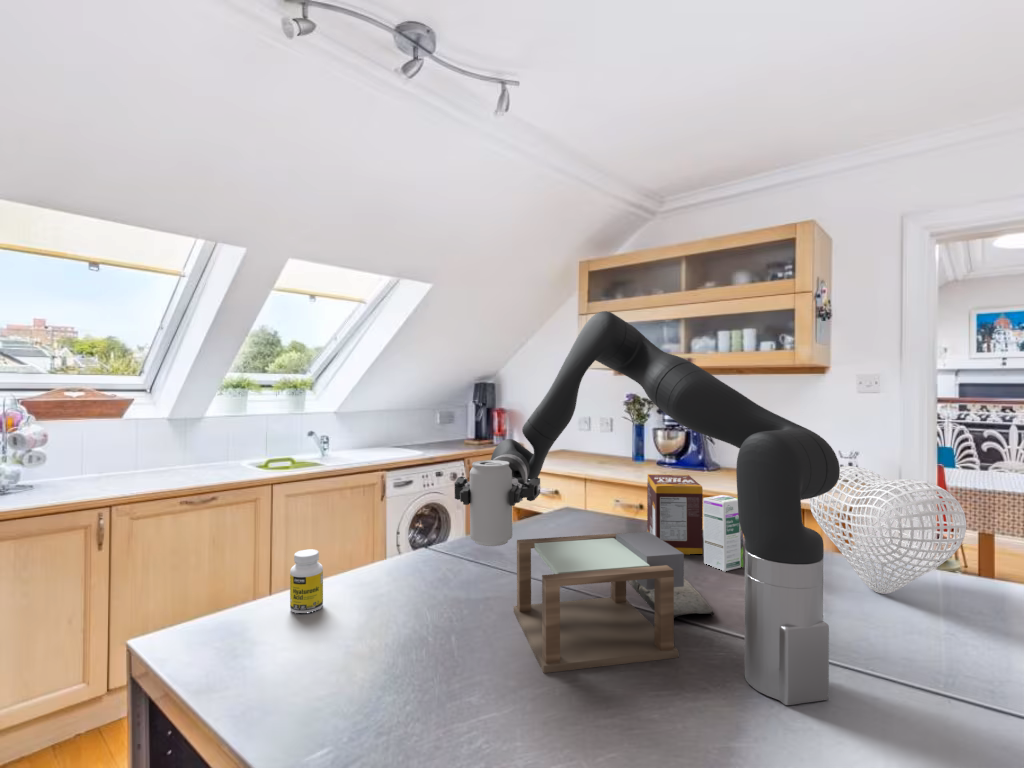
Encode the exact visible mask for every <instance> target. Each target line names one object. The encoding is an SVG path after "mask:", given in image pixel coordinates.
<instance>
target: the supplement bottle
mask: <svg viewBox="0 0 1024 768" xmlns="http://www.w3.org/2000/svg"><path fill="white" fill-rule="evenodd" d="M293 557H294V558H293V559H294V560H293V561H294V565H292V567H291V568H290V570H289V571H290V574H289V583H290V584H289V598H290V599H289V602H290V603H289V606H290V607H289V608H290V611H291V613H293V612H295V613H294V614H296V613H307V612H312V611H315V612H317V611H316V610H318V609H319V610H321V609H322V608H323V606H324V566H323V564H321V563H320V562H319V560H320V559H319V557H320V553H319V551H318V550H317V549H313V548H311V549H301V550H297V551H296V552H295V553H294V555H293ZM319 610H318V611H319ZM312 613H313V612H312ZM307 614H308V613H307Z"/></svg>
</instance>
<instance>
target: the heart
mask: <svg viewBox="0 0 1024 768" xmlns="http://www.w3.org/2000/svg"><path fill="white" fill-rule="evenodd" d="M839 467H840V474H839V477H840V476H841V479H838V481H837V483H836V485H835V486H834V487H833V488H832V489H831V490H830V491H828V492H826V493H824V494H822V495H820V496H817V497H813V498H810V499H808V501H809V502H808V503H809V509H810V511H811V514H812V516H813V518H814V520H815V521H816V523H817V525H819V527H820V528H821V530H822V531H823V532H824V534H825V535H826V536H827V538H829V540H830V541H832V543H833V544H834V545H835V547H836V548H837V549H838V550H839V552H840V553H841V554H842V555H843V557H844V558H845V560H846V561H847V562H848V563H849V564H850V567H851V568H853V570H854V571H855V573H856V574H857V575H858V577H859V578H860V579H861V581H863V583H865V585H866V586H867V587H868V588H869V589H871V590H872V591H874V593H875V592H876V593H877V594H882V595H883V594H885V595H886V594H887V595H888V594H891V593H894V592H896V591H899V590H900V589H902V588H903V587H905V586H906V585H908V584H910V583H912V582H913V581H915V580H916V579H918V578H920V577H922V576H924V575H925V574H927V573H929V572H931V571H932V570H934V569H936V568H937V567H939V566H941V565H942V564H944V563H945V562H946V561H948V560H949V559H950V558H952V556H953V555H954V554H955V553H956V552H957V551H958V550H959V548H960V546H961V545H962V543H963V541H964V539H965V537H966V533H967V531H966V530H967V519H966V514H965V511H964V509H963V507H962V505H961V503H960V502H959V501H958V499H956V497H955V496H954V495H952V493H950V492H949V491H948V490H946V489H944V488H942V487H940V486H939V485H937V484H935V483H931V482H929V481H928V482H927V481H924V480H919V479H912V478H911V479H906V478H905V479H904V478H903V479H902V478H901V479H893V480H891V479H890V480H887V479H886V478H885V477H883V475H880V474H878V473H876V472H875V471H873V470H870V469H868V468H863V467H859V466H852V465H843V466H839ZM856 475H857V476H856ZM845 479H846V480H847V482H846V481H844V480H845ZM857 480H858V481H857ZM856 481H857V482H856ZM863 484H864V485H863ZM842 485H843V486H844V487H843V488H842ZM857 488H858V489H857ZM849 489H850V490H849ZM848 490H849V491H848ZM928 492H931V493H928ZM830 493H831V494H830ZM836 493H837V494H838V497H835V494H836ZM859 493H860V494H859ZM920 493H922V494H920ZM842 495H845V497H844V499H843V500H841V497H842ZM877 495H878V496H877ZM884 497H885V499H884ZM923 497H926V499H924V498H923ZM932 497H934V498H932ZM848 498H851V499H850V501H848ZM915 498H918V500H916V499H915ZM866 502H867V503H866ZM890 502H891V503H890ZM894 503H895V506H894ZM820 504H821V507H820ZM824 505H825V506H826V507H827V509H825V506H824ZM838 505H839V508H840V509H839V508H838ZM845 505H846V510H844V507H845ZM876 505H877V506H876ZM918 505H921V506H922V508H923V510H920V508H919V506H918ZM908 506H909V508H908ZM913 506H914V507H915V509H913ZM929 506H930V507H929ZM851 507H852V509H851ZM887 508H888V509H887ZM929 508H930V509H931V510H930V509H929ZM831 509H833V510H831ZM850 509H851V510H850ZM898 509H899V510H898ZM874 510H875V511H874ZM903 510H904V513H903ZM892 512H893V513H894V514H893V516H892V515H891V514H892ZM914 513H915V514H914ZM838 514H839V515H838ZM944 515H945V521H944ZM884 516H885V517H884ZM936 516H937V518H936ZM854 517H855V519H854ZM923 517H925V518H924V519H925V520H923ZM928 517H929V518H928ZM873 519H875V521H874V522H873ZM901 519H902V520H904V521H903V522H902V521H901ZM936 519H938V520H936ZM882 520H884V521H882ZM890 520H891V521H890ZM907 520H909V523H910V525H908V524H907ZM863 522H864V524H863ZM894 522H896V524H895V527H894V526H893V524H894ZM914 522H917V526H915V527H914ZM837 523H838V524H839V525H837ZM924 523H925V524H924ZM843 524H845V528H844V526H843ZM868 524H869V525H868ZM876 524H877V525H876ZM929 524H930V526H929ZM937 524H938V525H937ZM945 524H946V525H945ZM849 525H850V526H849ZM892 526H893V527H892ZM869 529H871V532H870V531H869ZM945 529H946V530H947V531H945ZM952 529H953V531H952ZM883 530H884V531H883ZM938 530H939V531H938ZM860 531H861V532H860ZM905 531H908V533H906V532H905ZM914 531H917V533H916V536H915V535H914V534H915V533H914ZM865 532H866V533H865ZM843 533H844V534H843ZM876 533H879V535H877V534H876ZM887 533H888V535H887ZM896 533H899V535H898V536H895V534H896ZM929 533H930V538H928V536H929ZM850 534H851V535H852V536H850ZM920 534H921V535H920ZM937 534H939V538H936V537H937ZM944 535H946V538H944ZM951 535H952V536H953V537H952V538H951ZM957 535H958V536H957ZM904 536H906V537H904ZM920 536H921V537H920ZM868 539H869V541H868ZM886 539H888V540H887V541H886ZM881 540H882V542H881ZM846 541H848V543H847V542H846ZM893 541H896V543H895V542H893ZM853 542H854V544H853ZM913 542H914V544H913ZM927 543H929V544H928V547H927ZM902 544H904V545H902ZM918 544H919V546H918ZM935 544H936V548H935V549H934V546H935ZM943 545H944V547H943V549H942V546H943ZM949 545H950V547H949ZM879 548H881V549H882V550H880V549H879ZM874 549H875V550H874ZM888 549H889V550H891V551H888ZM900 551H901V552H900ZM865 555H866V556H865ZM872 556H874V557H875V558H872ZM887 556H889V557H890V559H889V558H888V557H887ZM880 557H882V559H881V558H880ZM913 560H915V561H914V562H913ZM922 562H923V563H922ZM931 562H932V563H931ZM874 563H875V564H874ZM900 563H902V564H900ZM920 563H921V564H920ZM930 563H931V564H930ZM875 565H876V566H875ZM879 565H880V566H879ZM892 565H893V566H894V568H893V567H892ZM907 566H910V567H907ZM914 568H916V569H914ZM880 572H881V574H880ZM884 574H886V575H884Z"/></svg>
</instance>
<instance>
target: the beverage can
mask: <svg viewBox="0 0 1024 768" xmlns="http://www.w3.org/2000/svg"><path fill="white" fill-rule="evenodd" d="M471 466H472V467H471V469H470V471H469V481H470V504H469V531H470V533H469V535H470V536H469V537H470V539H471V540H472V541H474V543H475V544H477V545H480V546H484V547H497V546H498V547H500V546H502V545H503V546H504V545H505V544H508V542H509V541H510V540H511V539H512V538H513V506H510V505H509V491H510V490H511V489H512V470H511V469H510V467H509V462H507V461H500V460H491V459H488V460H478V461H473V462H472V464H471Z"/></svg>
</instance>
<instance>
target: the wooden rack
mask: <svg viewBox="0 0 1024 768" xmlns="http://www.w3.org/2000/svg"><path fill="white" fill-rule="evenodd" d="M616 534H621V532H617V533H616V532H615V533H603V534H601V533H600V534H587V535H573V536H572V535H571V536H558V537H557V536H555V537H540V538H524V539H517V540H516V605H513V613H514V614H513V615H515V617H516V619H517V622H518V624H519V626H520V628H521V630H522V632H523V634H524V636H525V638H526V640H527V642H528V644H529V646H530V648H531V650H532V653H533V655H534V656H535V659H536V661H537V663H538V665H539V667H540V669H541V671H542V672H543V674H548V673H555V672H564V671H565V672H566V671H573V670H582V669H593V668H597V667H598V668H600V667H608V666H617V665H624V664H626V665H627V664H635V663H642V662H644V663H645V662H651V661H653V662H654V661H659V660H660V661H661V660H667V659H668V660H670V659H676V658H679V653H680V652H679V649H678V648H677V647H675V644H674V643H675V640H674V638H675V636H674V634H675V633H674V630H675V629H674V628H675V627H674V626H675V625H674V624H675V622H674V619H675V618H674V570H673V569H672V568H670V567H669V566H667V565H664V566H651V567H639V568H626V569H613V570H600V571H588V572H575V573H562V574H554V573H551V574H542V575H541V595H542V597H541V603H533V604H532V549H535V543H546V542H561V541H576V540H591V539H606V538H614V539H616ZM654 578H655V582H654V610H653V611H654V625H653V624H652V623H651V622H650V621H649V619H647V618H646V617H645V616H644V615H643V614H642V613H641V612H640V611H639V610H638V609H637V608H636V607H635V606H634V605H633V604H632V603H631V602H629V600H628V599H627V582H628V581H630V580H642V579H654ZM602 583H603V584H604V583H610V596H609V597H600V598H598V597H597V598H588V599H576V600H566V601H561V587H570V586H579V585H580V586H581V585H590V584H591V585H593V584H602Z"/></svg>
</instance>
